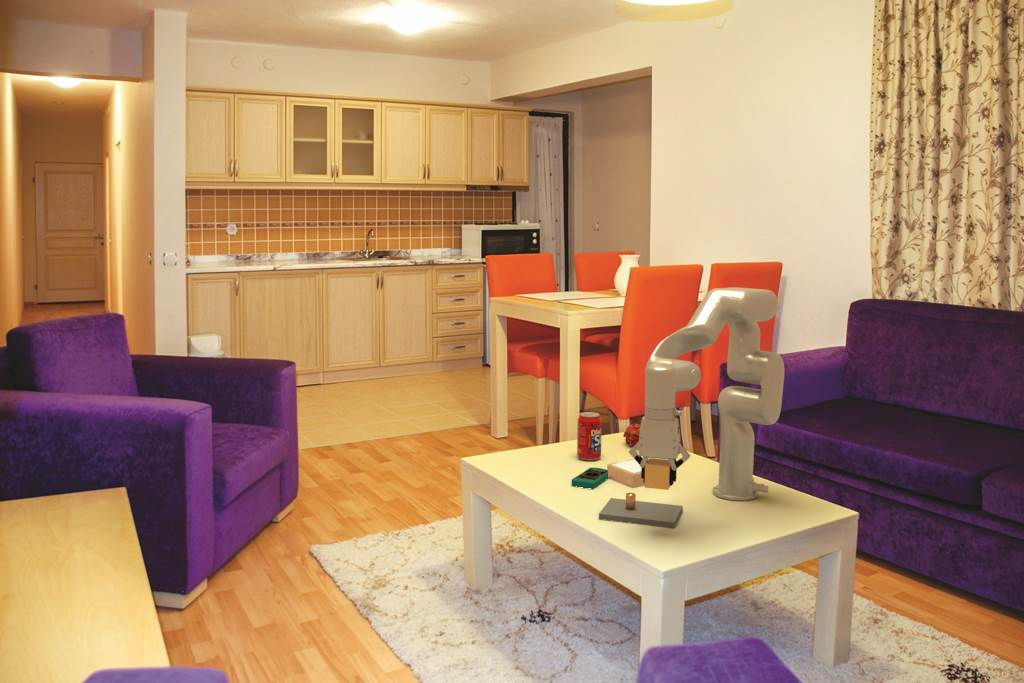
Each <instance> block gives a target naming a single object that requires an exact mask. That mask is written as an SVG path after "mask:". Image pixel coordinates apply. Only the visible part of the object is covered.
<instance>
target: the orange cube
mask: <svg viewBox="0 0 1024 683" xmlns="http://www.w3.org/2000/svg"><path fill="white" fill-rule="evenodd" d="M670 470H671V465H670V463H669V460H668V459H659V458H649V459H648V461H647V462H646V464H645V483H644V488H646V489H654V490H667V491H669V490H670V488H671V485H670Z"/></svg>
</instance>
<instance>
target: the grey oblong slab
mask: <svg viewBox="0 0 1024 683" xmlns="http://www.w3.org/2000/svg"><path fill="white" fill-rule="evenodd" d="M683 510H684V506H683V505H677V504H668V503H660V502H651V501H641V500H636V501H635V510H627V509H626V498H625V499H623V498H615V497H611V498H610V499H609V500H608V501H607V502H606V503H605V505H604V506H603V508H602V509H601V510H600V511H599V513H598V520H602V519H606V520H605V521H610V520H613V522H619V521H622V522H621V523H627V522H631V523H630V524H635V523H637V524H636V525H638V524H639V525H646V526H654V527H662V528H668V529H670V528H671V529H675V527H677V526H676V525H677V524H678V522H679V519H680V517H681V516H682V514H683V512H682V511H683ZM681 513H682V514H681ZM680 515H681V516H680Z"/></svg>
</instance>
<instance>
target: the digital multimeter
mask: <svg viewBox="0 0 1024 683" xmlns="http://www.w3.org/2000/svg"><path fill="white" fill-rule="evenodd" d="M608 470H609V469H605V468H601V467H589V468H587V469H586V470H584V471H583V472H581V473H579V475H577V476H575V477H573V478H572V479H571V487H574V486H577V487H576V488H579V487H583V488H582V489H585V488H591V489H590V490H595V489H596V488H597V487H599V486H600V485H601V484H602V482H603V481H604V482H606V481H607V480H609V479H608ZM606 479H607V480H606ZM605 480H606V481H605ZM604 482H603V483H604ZM599 484H600V485H599ZM598 485H599V486H598ZM594 488H595V489H594Z"/></svg>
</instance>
